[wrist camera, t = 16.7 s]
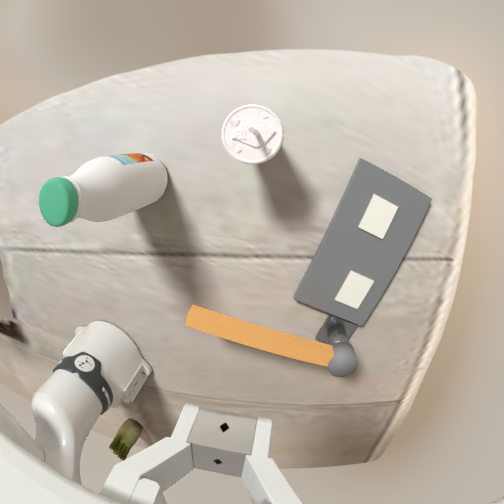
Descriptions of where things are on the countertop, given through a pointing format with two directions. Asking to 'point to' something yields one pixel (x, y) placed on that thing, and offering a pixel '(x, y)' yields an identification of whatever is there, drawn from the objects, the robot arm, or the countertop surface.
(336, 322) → the pivot post
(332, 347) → the strip
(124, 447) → the fennel bulb
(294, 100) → the countertop surface
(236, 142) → the smoothie
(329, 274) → the tray
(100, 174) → the milk bottle
